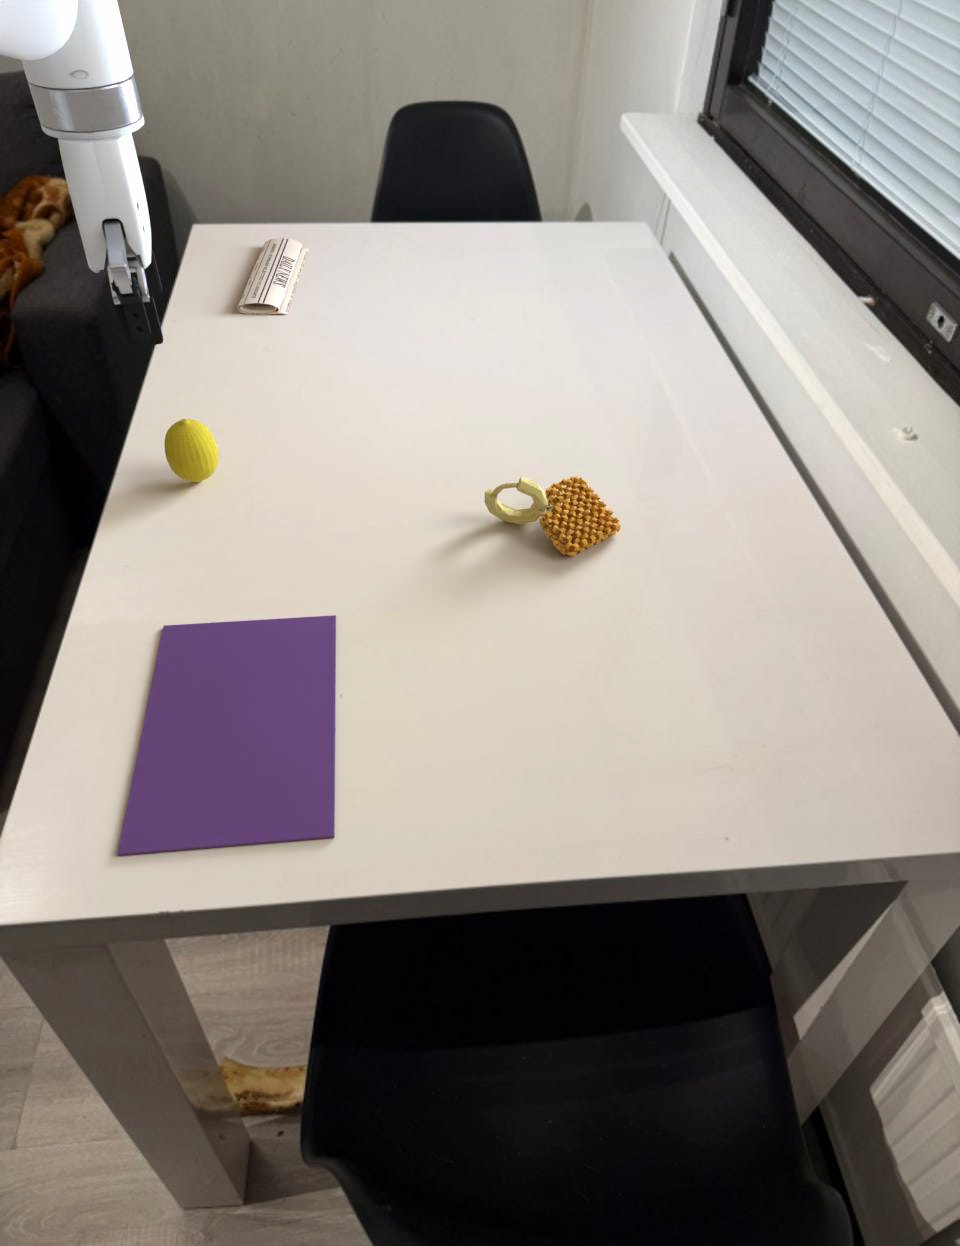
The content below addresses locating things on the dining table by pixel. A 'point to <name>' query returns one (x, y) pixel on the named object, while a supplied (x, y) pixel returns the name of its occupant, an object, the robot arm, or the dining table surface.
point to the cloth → (236, 738)
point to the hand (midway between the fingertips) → (145, 318)
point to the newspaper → (274, 278)
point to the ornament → (559, 512)
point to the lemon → (191, 450)
